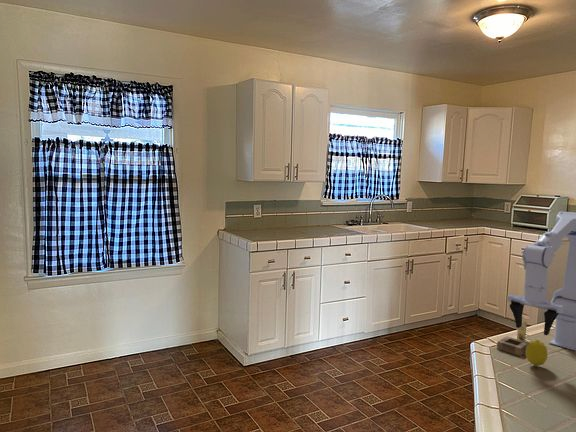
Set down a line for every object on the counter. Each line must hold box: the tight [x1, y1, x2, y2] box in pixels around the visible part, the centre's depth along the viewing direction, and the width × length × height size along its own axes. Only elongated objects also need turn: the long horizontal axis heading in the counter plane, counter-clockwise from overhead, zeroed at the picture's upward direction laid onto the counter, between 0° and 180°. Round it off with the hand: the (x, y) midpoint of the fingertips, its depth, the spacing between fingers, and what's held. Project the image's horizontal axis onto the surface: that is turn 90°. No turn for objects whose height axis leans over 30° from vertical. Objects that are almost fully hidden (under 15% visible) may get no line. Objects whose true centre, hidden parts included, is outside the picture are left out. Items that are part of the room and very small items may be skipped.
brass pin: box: [516, 319, 528, 342], centre depth 144 cm, size 2×2×8 cm
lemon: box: [525, 339, 548, 368], centre depth 128 cm, size 6×6×8 cm
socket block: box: [496, 336, 530, 357], centre depth 140 cm, size 7×7×2 cm
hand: (532, 330), depth 130 cm, fingers open, 7 cm apart
